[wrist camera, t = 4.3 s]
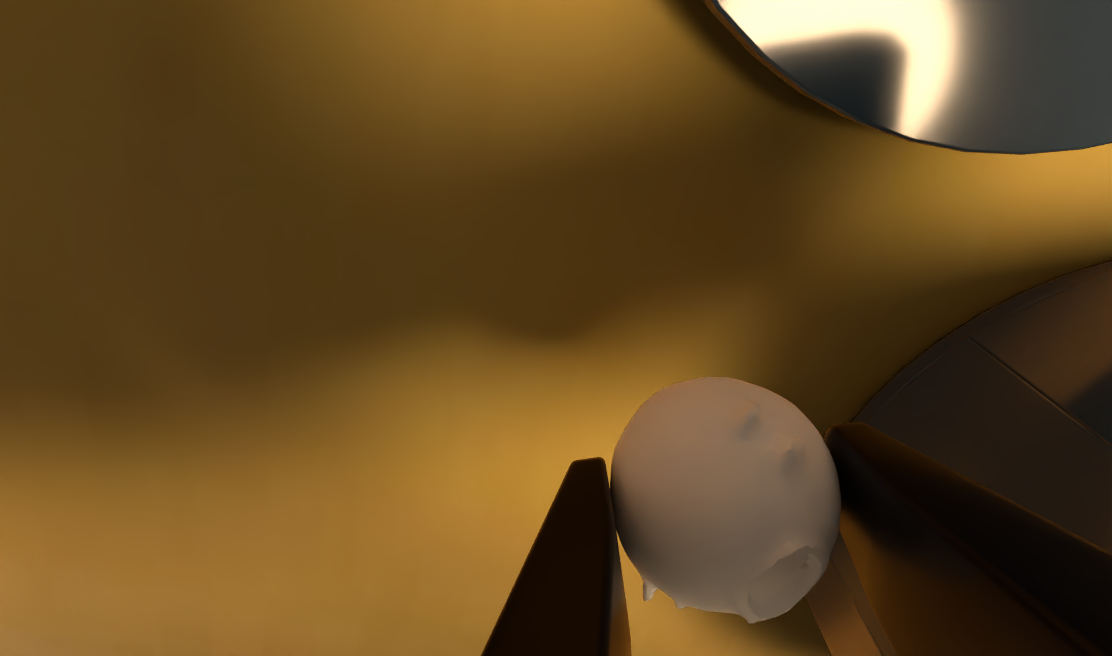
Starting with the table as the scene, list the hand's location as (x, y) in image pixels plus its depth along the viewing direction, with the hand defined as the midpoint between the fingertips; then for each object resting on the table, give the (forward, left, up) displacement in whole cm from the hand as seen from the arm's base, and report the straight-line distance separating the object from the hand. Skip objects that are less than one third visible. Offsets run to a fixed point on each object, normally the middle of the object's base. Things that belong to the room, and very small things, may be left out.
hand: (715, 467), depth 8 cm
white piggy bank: (0, 0, -1) cm, 1 cm away
